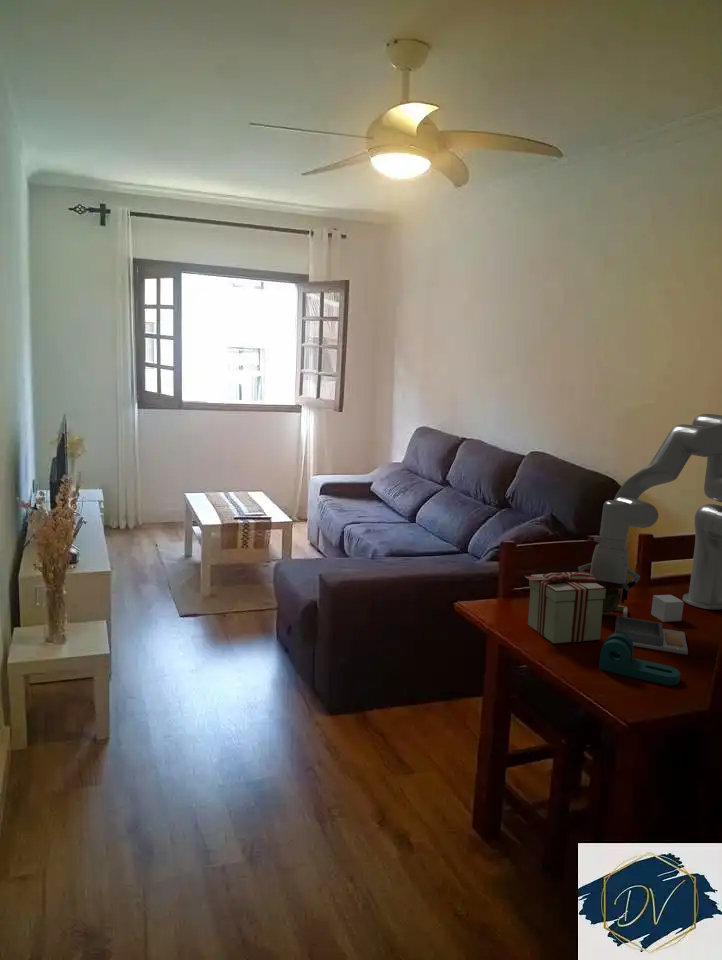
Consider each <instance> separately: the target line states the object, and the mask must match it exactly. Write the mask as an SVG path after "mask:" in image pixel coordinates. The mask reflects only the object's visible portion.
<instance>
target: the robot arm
mask: <svg viewBox="0 0 722 960" xmlns="http://www.w3.org/2000/svg"><path fill="white" fill-rule="evenodd" d="M691 456H696V457H702V458H706V469H705V475H704V485H703V486H704V487H703V490H704V495H705V496H706V497H707V498H708V499H710V500H712V501H715V502H719V503H722V415H720V414H713V413H702V414H699V415H697V416H695V418H694V419H693V421H692V424H684V423H683V424H676V425H675V426H674V427H673V428H671V430H670V431H669V432H668V433H667V436H666V438H665V439H664V441H663V442H662V444H661V446H660V447H659V448H658V450H657V451H656V453H655V455H654V457H653V458H652V460H651V461H650V463H649V464H647V466H645V467H644V468H641V469H640V470H638V471H637V472H636V473H634V474H633V475H632V476H630V477H629V478H628V479H627V480H626V481H625V482H624V483H623V484H622V485H621V487H620V488H619V490H618V491H617V493H616V494H615V497H614V498H613V499H608V500H606V501H605V502H604V503H603V506H602V512H601V513H602V515H601V522H600V530H599V535H598V536H593V541H594V542H597V544H596V545H595V547H594V551H593V554H592V558H591V562H589V563H587V564H586V563H585V564H583V565H579V566H577V567H578V568H577V570H578V571H577V572H580V571H587V570H589V569H590V571H589V572H590V573H591V574H592V575H593V576H594V578H595V579H596V581H597V582H598V581H599V582H603V583H604V582H605V583H612V584H619V585H621V586H622V590H621V598H620V601H621V604H624V603H625V601H627V600H628V594H629V590H630V589H631V588H634V587H635V586H636V584H637V583H638V582H639V581H640V579H641V576H640V575H639V573H636V572H635V571H633V570H632V569H631V568H629V550H628V548H627V541H628V531H629V527H633V528H639V529H646V528H650V527H652V526H653V525H655V524H656V522H657V521H658V519H659V511H658V509H657V508H656V507H655V506H654V505H653V504H651V503H649V502H646V501H644V500H640V499H639V498H640V497H641V495H642V494H643V493H644V492H646V491H647V490H649V489H651V488H653V487H655V486H659V485H663V484H668V483H671V482H673V481H675V480H677V479H678V477H679V476H680V473H681V472H682V471H683V469H684V467H685V466H686V464H687V462H688V461H689V459H690V458H691ZM694 530H695V534H694V535H695V537H694V538H695V539H694V542H695V543H694V549H693V558H692V564H691V565H692V567H691V573H690V574H691V575H690V582H689V588H688V593H685V594H683V595H682V601H683V602H685V603H686V604H688V605H690V606H692V607H694V608H695V607H696V608H698V609H699V608H700V609H703V610H704V609H705V610H711V611H712V610H714V611H715V610H722V505H720V504H715V503H709V504H708V503H707V504H704V505H702V506H700V507H699V508H698V509H697V510H696V512H695V515H694ZM628 575H629V576H630V577H632V578H633V579H632V580H630V581H629V582H628V581H627V579H628Z"/></svg>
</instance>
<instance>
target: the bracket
mask: <svg viewBox="0 0 722 960" xmlns="http://www.w3.org/2000/svg"><path fill="white" fill-rule="evenodd" d="M634 648H635V646H633V643H632V641H631V639H630V638H629V637H627V636H626V635H624V634H621V633H615V632H614V633H612V634H610V635H609V636H608V637H607V638H606V640H605V642H604V644H603V645H602V647H601V649H600V655H599V663H598V669H599V670H602V671H607V672H610V673H614V674H618V675H622V676H627V677H630V678H631V677H632V678H634V679H635V678H636V679H640V680H644V681H647V682H653V683H657V684H662V685H665V686H677V685H679V684H680V680H681V672H680V671H679V670H678V669H677V668H675V667H673V666H670V665H666V664H662V663H658V662H653V661H648V660H644V659H639V658H635V657H634V651H635V649H634Z"/></svg>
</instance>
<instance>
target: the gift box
mask: <svg viewBox="0 0 722 960" xmlns="http://www.w3.org/2000/svg"><path fill="white" fill-rule="evenodd" d="M524 577H525V578H526V579H527V580H529V581H528V582H529V584H528V585H529V586H530V588H529V591H530V592H529V603H528V605H529V606H528V618H527V625H528V626H529V627H530V628H532V629H533V630H535V632H537V633H538V634H540V635H541V636H542V637H543V638H545V639H546V640H547V641H549V642H550V643H552V644H555V645H556V644H568V643H578V642H579V643H580V642H588V641H589V642H591V641H600V640H601V631H602V621H603V620H602V618H603V615H602V607H603V599H605V593H606V588H605V586H604V585H602V584H601V585H602V586H601V585H600V584H599V583H597V582H598V580H596V579H595V578H594V576H593V575H592V574H591V573H590V571H586V570H584V571H580V572H579V571H573V572H570V571H565V572H547V573H541V574H540V573H539V574H538V573H537V574H530V575H524ZM603 586H604V587H603Z"/></svg>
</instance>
